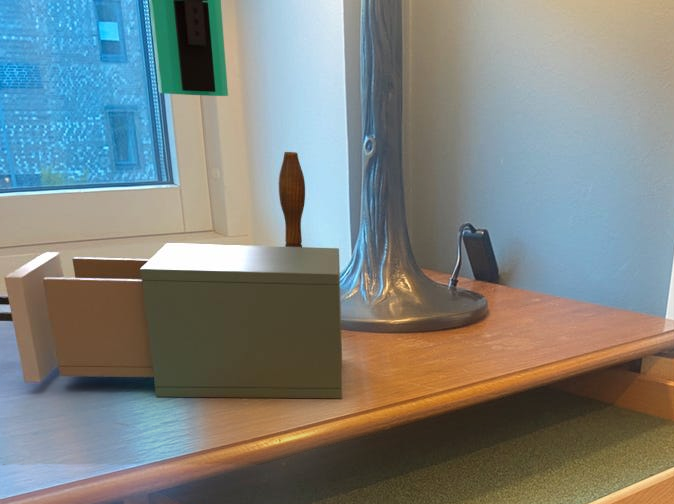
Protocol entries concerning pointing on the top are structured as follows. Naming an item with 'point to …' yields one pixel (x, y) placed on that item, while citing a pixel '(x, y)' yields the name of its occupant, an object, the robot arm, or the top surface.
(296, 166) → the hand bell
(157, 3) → the candle
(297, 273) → the cabinet
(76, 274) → the drawer
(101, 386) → the top surface
